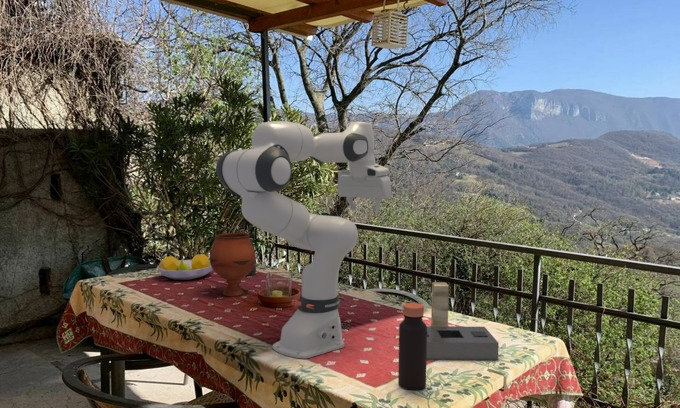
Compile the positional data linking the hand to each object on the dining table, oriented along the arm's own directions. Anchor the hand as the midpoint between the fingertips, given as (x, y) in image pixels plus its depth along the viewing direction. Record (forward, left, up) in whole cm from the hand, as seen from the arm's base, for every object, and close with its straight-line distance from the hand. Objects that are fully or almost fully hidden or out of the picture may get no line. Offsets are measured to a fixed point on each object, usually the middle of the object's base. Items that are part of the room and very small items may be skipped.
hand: (364, 210), depth 170 cm
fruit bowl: (+2, +106, -39) cm, 113 cm away
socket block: (-5, -35, -39) cm, 52 cm away
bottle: (-32, -38, -39) cm, 63 cm away
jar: (+24, +88, -39) cm, 99 cm away
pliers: (+22, +30, -39) cm, 54 cm away
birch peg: (+8, -25, -39) cm, 47 cm away
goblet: (-3, +65, -39) cm, 76 cm away
